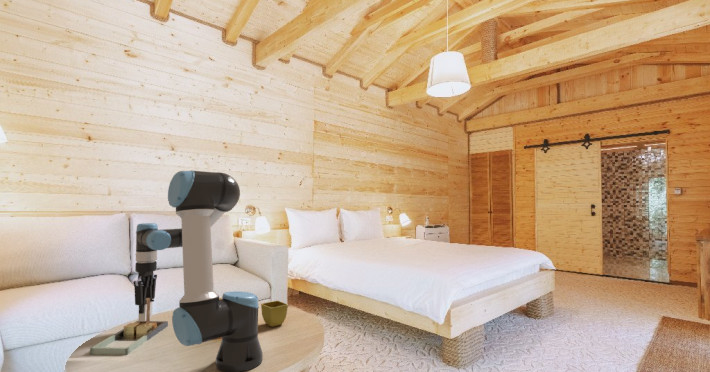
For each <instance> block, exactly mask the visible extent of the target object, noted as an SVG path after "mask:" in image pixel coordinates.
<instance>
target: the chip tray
mask: <svg viewBox="0 0 710 372" xmlns="http://www.w3.org/2000/svg"><path fill="white" fill-rule="evenodd" d="M114 342H116V341H115V335H114V334H112V335H110V336H109V337H107V338H104V339H103V340H102V341H100V342H99V343H96V344H94V346H91V347H90V348H89V355H129V354H131V353H132V352H133V351H135V350H136V349H138V348H139V347H141V346H142V345H143V344H145V343H146V342H148V341H147V336H143V337H141V338H140V339H138V340H137V341H133V342H132V343H131V344H129V345H128V346H125V347H124V346H117V347H116V346H115V347H114V346H112V347H111V346H109V345H110V344H112V343H114Z"/></svg>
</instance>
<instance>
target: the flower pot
mask: <svg viewBox="0 0 710 372" xmlns="http://www.w3.org/2000/svg"><path fill="white" fill-rule="evenodd" d="M260 305H261V306H260V309H261V315H262V318H263V322H264V323H265V324H266V325H267V326H270V327H271V328H273V327H277V326H281V325H283V323H285V320H286V317H287V313H288V307H289V304H288V303H286V302H283V301H281V300H273V301H268V302H264V303H260Z"/></svg>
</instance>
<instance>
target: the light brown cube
mask: <svg viewBox="0 0 710 372" xmlns="http://www.w3.org/2000/svg"><path fill="white" fill-rule="evenodd" d="M151 330H152V323H142V324H140V325H139V326H137V330H136V337H143V336H144V335H145V334H147V333H148V332H150V331H151Z"/></svg>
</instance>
